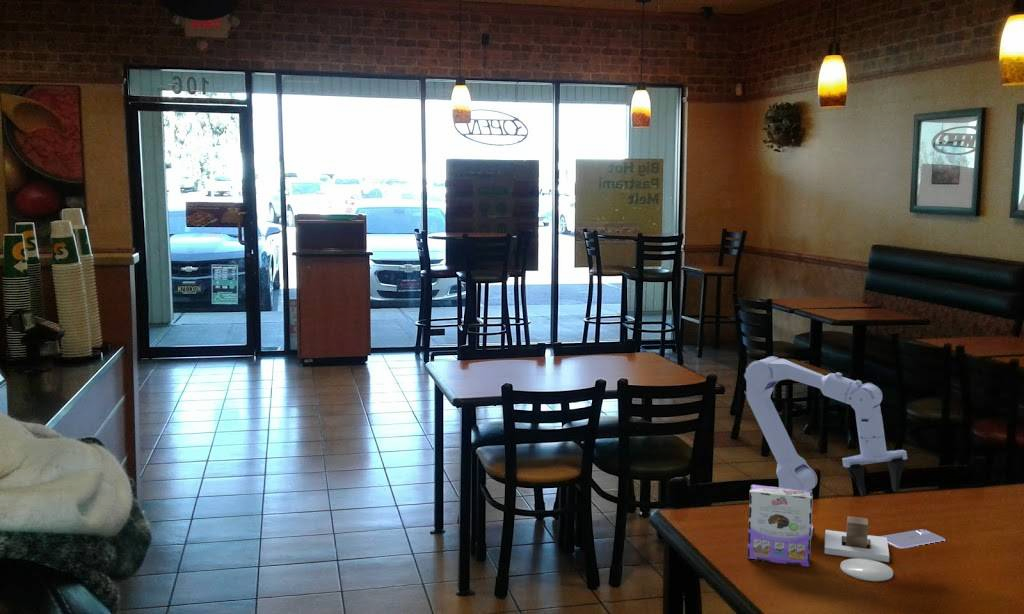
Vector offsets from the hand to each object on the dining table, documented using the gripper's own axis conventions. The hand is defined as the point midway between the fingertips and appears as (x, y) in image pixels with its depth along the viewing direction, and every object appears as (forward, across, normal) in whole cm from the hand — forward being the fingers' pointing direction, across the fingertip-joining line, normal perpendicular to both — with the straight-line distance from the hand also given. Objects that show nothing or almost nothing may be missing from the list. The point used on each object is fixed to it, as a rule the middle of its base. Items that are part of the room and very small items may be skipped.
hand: (879, 493), depth 213 cm
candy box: (+11, -26, -3) cm, 29 cm away
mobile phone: (+15, +10, +9) cm, 20 cm away
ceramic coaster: (+14, -9, -10) cm, 19 cm away
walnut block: (+13, -6, +3) cm, 15 cm away
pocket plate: (+13, -6, +3) cm, 15 cm away
